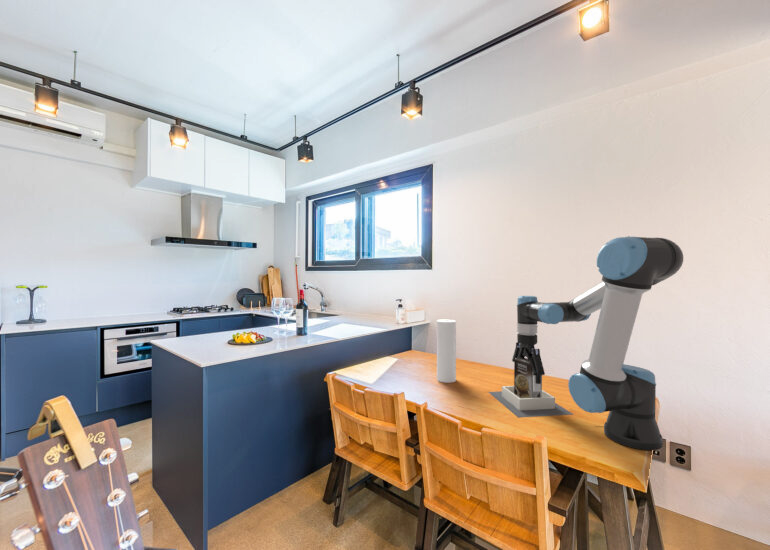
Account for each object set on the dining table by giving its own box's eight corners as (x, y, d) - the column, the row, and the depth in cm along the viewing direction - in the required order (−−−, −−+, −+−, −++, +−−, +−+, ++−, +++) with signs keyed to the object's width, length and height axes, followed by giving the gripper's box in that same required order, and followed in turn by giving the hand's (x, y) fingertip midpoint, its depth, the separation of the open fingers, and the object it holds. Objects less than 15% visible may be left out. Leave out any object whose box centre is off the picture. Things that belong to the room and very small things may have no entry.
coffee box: (513, 397, 138) (513, 358, 138) (524, 395, 140) (524, 357, 140) (530, 405, 129) (531, 364, 129) (542, 402, 132) (542, 362, 132)
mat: (573, 415, 123) (573, 414, 123) (518, 418, 121) (518, 417, 121) (534, 390, 149) (534, 389, 149) (488, 392, 147) (488, 391, 147)
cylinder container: (454, 376, 169) (454, 318, 169) (456, 382, 160) (456, 321, 160) (436, 376, 170) (436, 318, 170) (437, 382, 161) (437, 321, 161)
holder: (555, 408, 129) (555, 397, 129) (519, 410, 127) (519, 399, 127) (534, 394, 143) (534, 384, 143) (501, 396, 141) (501, 386, 141)
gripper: (554, 339, 123) (554, 396, 123) (520, 328, 148) (520, 375, 148) (535, 340, 122) (535, 397, 122) (504, 328, 147) (504, 376, 147)
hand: (527, 385), depth 135 cm, fingers open, 13 cm apart
